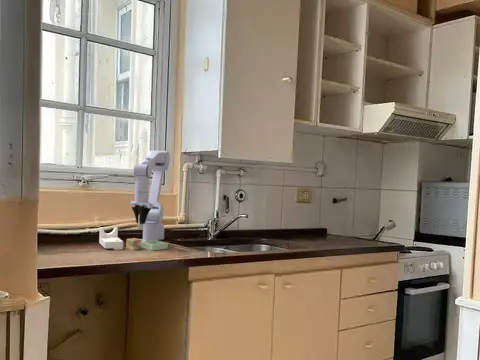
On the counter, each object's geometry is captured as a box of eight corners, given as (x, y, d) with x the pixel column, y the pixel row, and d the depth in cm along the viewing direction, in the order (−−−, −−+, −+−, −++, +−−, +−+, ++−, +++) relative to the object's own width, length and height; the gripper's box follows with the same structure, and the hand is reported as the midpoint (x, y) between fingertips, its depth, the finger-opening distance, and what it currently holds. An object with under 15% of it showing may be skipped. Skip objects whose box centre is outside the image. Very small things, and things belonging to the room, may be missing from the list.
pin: (141, 228, 200) (141, 212, 200) (144, 229, 199) (144, 213, 198) (136, 228, 199) (137, 212, 198) (139, 229, 197) (140, 213, 197)
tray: (155, 245, 200) (155, 240, 200) (167, 248, 194) (168, 243, 194) (139, 247, 194) (139, 241, 194) (151, 250, 188) (152, 244, 188)
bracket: (99, 245, 196) (99, 227, 196) (115, 244, 200) (116, 227, 199) (105, 250, 185) (105, 232, 185) (122, 250, 188) (123, 231, 188)
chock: (134, 247, 194) (134, 238, 194) (141, 249, 190) (141, 239, 190) (126, 248, 191) (126, 238, 191) (132, 250, 187) (133, 240, 187)
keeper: (141, 243, 202) (141, 239, 202) (147, 245, 199) (147, 240, 199) (131, 244, 199) (131, 240, 199) (137, 246, 196) (137, 241, 196)
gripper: (124, 190, 200) (123, 221, 201) (143, 193, 190) (142, 226, 191) (138, 190, 205) (137, 221, 206) (157, 193, 195) (156, 225, 196)
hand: (140, 223), depth 198 cm, fingers closed on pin, 2 cm apart
